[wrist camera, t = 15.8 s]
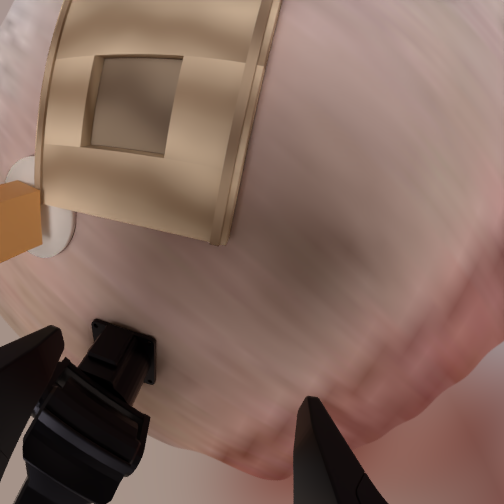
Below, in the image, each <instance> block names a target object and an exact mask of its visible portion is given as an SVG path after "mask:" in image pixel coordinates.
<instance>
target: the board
mask: <svg viewBox="0 0 504 504" xmlns="http://www.w3.org/2000/svg"><path fill="white" fill-rule="evenodd" d="M281 4H282V0H64V1H63V4H62V7H61V10H60V13H59V16H58V19H57V23H56V26H55V30H54V33H53V37H52V41H51V45H50V49H49V53H48V58H47V62H46V67H45V72H44V77H43V83H42V89H41V96H40V103H39V111H38V119H37V130H36V143H35V167H34V188H36V189H38V190H40V205H42V204H45V205H49V206H54V207H58V208H62V209H67V210H71V211H75V212H80V213H84V214H89V215H93V216H97V217H102V218H106V219H110V220H115V221H119V222H124V223H128V224H132V225H137V226H141V227H145V228H150V229H154V230H159V231H163V232H167V233H172V234H176V235H180V236H185V237H189V238H194V239H198V240H202V241H207V242H210V243H209V244H211V245H215V246H219V244H220V245H224V246H226V244H227V241H228V239H229V236H230V230H231V225H232V220H233V215H234V210H235V206H236V201H237V196H238V191H239V186H240V181H241V176H242V172H243V167H244V162H245V158H246V153H247V148H248V144H249V139H250V135H251V130H252V125H253V121H254V116H255V112H256V108H257V103H258V99H259V94H260V90H261V86H262V81H263V77H264V73H265V69H266V64H267V60H268V56H269V52H270V48H271V44H272V40H273V36H274V31H275V27H276V23H277V19H278V16H279V12H280V8H281ZM106 58H108V59H106ZM157 58H162V59H157ZM176 59H180V60H176ZM99 145H101V146H99ZM108 146H110V147H108ZM116 147H118V148H116ZM124 148H126V149H124ZM132 149H133V150H132ZM139 150H140V151H139ZM146 151H147V152H146ZM153 152H154V153H153ZM159 153H161V154H159Z"/></svg>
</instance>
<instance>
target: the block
mask: <svg viewBox="0 0 504 504" xmlns="http://www.w3.org/2000/svg"><path fill="white" fill-rule="evenodd" d="M42 244H43V242H42V229H41V208H40V190H38V189H36V188H34V187H31V186H29V185H27V184H25V183H23V182H20V181H18V180H16V181H12V182H8V183H5V184H1V185H0V263H1V262H4V261H6V260H8V259H10V258H12V257H15V256H17V255H19V254H21V253H23V252H26V251H28V250H30V249H33V248H35V247H37V246H40V245H42Z"/></svg>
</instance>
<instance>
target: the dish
mask: <svg viewBox="0 0 504 504" xmlns="http://www.w3.org/2000/svg"><path fill="white" fill-rule="evenodd" d="M34 167H35V155H33V156H29V157H25V158H22V159H20V160H19V161H17V162H16V163H15V164H14V165H13V166H12V168H11V169H10V171H9V173H8V175H7V178H6V181H5V183H8V182H12V181H16V180H18V181H20V182H23V183H25V184H27V185H29V186H31V187H34ZM40 208H41V229H42V242H43V244H42V245H40V246H37V247H35V248H33V249H30V250H28V252H29V253H31V254H32V255H35V256H37V257H41V258H50V257H53V256H55V255H57V254H58V253H60V252H61V251H62V250H63V249H65V248H66V247H67V245H68V244H69V243H70V241H71V239H72V236H73V234H74V230H75V224H76V212H75V211H71V210H67V209H62V208H58V207H54V206H49V205H45V204H42V205H40Z"/></svg>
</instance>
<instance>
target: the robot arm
mask: <svg viewBox="0 0 504 504" xmlns="http://www.w3.org/2000/svg"><path fill="white" fill-rule="evenodd" d="M91 325H92V331H93V338H94V343H93V345H92V346H91V347H90V349H89V350H88V352H87V354H86V356H85V357H84V359H83V360H82V361H81V363H80V364H79V366H78V367H76V366H75V365H73V364H72V363H71V362H70V360H69V359H68V358H66V357H65V358H64V360H63V361H62V362H60V361H59V359H60V357H61V354H62V352H63V350H64V340H63V336H62V332H61V329H60V328H58V327H56V326H53V325H50V326H47V327H45V328H43V329H40V330H38V331H36V332H33V333H31V334H29V335H27V336H24V337H22V338H20V339H18V340H15V341H13V342H11V343H9V344H6V345H4V346H2V347H0V481H1V478H2V476H3V474H4V471H5V469H6V467H7V464H8V462H9V459H10V457H11V455H12V452H13V451H14V448H15V446H16V444H17V442H18V440H19V438H20V436H21V433H22V432H23V429H24V428H25V426H26V424H27V421H28V419H29V418H30V416H32V417H33V418H34V420H33V421H32V423H31V425H30V427H29V429H28V430H27V432H26V434H25V435H24V438H23V459H24V460H25V462H26V469H27V477H26V479H25V481H24V483H23V485H22V487H21V489H20V491H19V493H18V495H17V497H16V499H15V501H14V503H13V504H91V503H94V504H107V503H108V502H110V501H111V500H112V498H113V496H114V494H115V492H116V490H117V488H118V486H119V483H120V482H121V480H122V479H123V477H128V476H129V475H131V474H132V473H133V472H134V470H135V469H136V468H137V466H138V464H139V462H140V460H141V458H142V456H143V453H144V449H145V443H146V438H147V433H148V427H149V422H150V417H149V416H148V415H146V414H143V413H141V412H140V411H138V410H136V409H135V408H133V407H132V406H133V403H134V401H135V399H136V397H137V395H138V392H139V390H140V388H141V386H142V384H143V382H144V383H147V384H150V385H153V384H154V383H155V381H156V342H155V340H154V339H153V338H152V337H150V336H146V335H143V334H140V333H137V332H133V331H130V330H127V329H124V328H121V327H118V326H115V325H112V324H109V323H106V322H103V321H101V320H98V319H94V320H93V322H92V324H91ZM150 342H151V343H150ZM58 361H59V362H58ZM364 472H365V471H364V469H363V468H362V467H361V465H360V463H359V461H358V460H357V458H356V457H355V455H354V454H353V452H352V450H351V449H350V447H349V446H348V444H347V442H346V441H345V439H344V438H343V436H342V435H341V433H340V431H339V430H338V428H337V426H336V425H335V423H334V422H333V420H332V418H331V417H330V415H329V414H328V412H327V410H326V409H325V407H324V406H323V404H322V402H321V401H320V399H319V398H318V397H312V396H307V397H306V398H305V399H304V401H303V403H302V405H301V406H300V408H299V410H298V414H297V423H296V432H295V441H294V451H293V475H294V504H388V503H387V502H386V501H385V499H384V498H383V497H382V496H381V494H380V493H379V492H378V490H377V489H376V487H375V486H374V485H373V483H372V482H371V480H370V479H369V477H368V475H367V474H366V473H364Z"/></svg>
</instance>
